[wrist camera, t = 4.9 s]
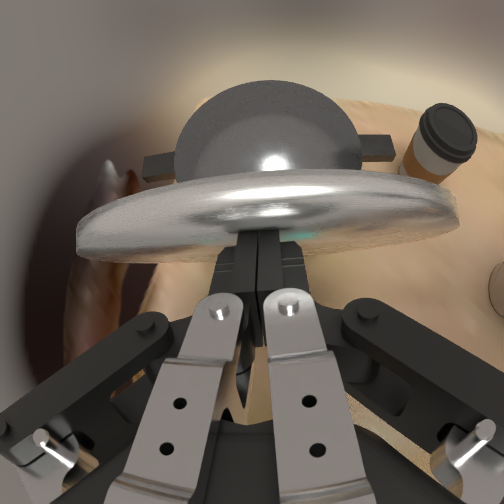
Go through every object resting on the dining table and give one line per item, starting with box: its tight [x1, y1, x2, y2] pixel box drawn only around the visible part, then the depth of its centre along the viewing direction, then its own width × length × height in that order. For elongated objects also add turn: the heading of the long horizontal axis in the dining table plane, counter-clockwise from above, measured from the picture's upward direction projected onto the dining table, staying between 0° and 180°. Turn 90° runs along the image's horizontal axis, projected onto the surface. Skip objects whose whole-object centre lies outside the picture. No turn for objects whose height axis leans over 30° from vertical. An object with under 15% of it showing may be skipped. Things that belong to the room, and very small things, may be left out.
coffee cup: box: [399, 103, 477, 185], centre depth 36 cm, size 8×8×15 cm
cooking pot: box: [142, 80, 396, 183], centre depth 39 cm, size 31×22×12 cm
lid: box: [77, 169, 460, 263], centre depth 20 cm, size 23×24×3 cm
